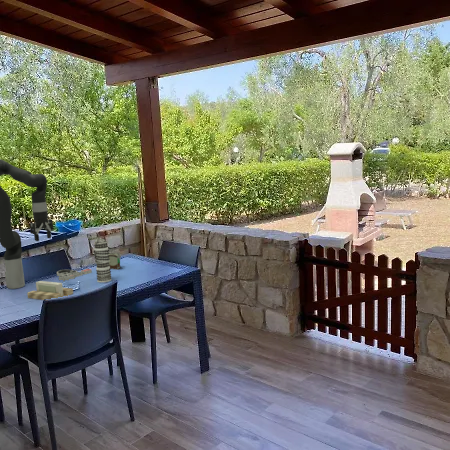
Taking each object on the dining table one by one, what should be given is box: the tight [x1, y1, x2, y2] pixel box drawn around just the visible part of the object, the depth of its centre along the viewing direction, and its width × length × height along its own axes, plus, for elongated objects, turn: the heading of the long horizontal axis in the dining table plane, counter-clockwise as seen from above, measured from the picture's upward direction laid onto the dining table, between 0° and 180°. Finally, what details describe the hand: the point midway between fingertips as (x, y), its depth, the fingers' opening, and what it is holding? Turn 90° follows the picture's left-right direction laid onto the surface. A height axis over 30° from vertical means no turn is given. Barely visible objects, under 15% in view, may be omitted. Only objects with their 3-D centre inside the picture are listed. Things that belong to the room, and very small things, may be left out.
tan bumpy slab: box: [27, 287, 74, 301], centre depth 248 cm, size 20×13×3 cm, turn 66°
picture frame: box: [35, 280, 64, 296], centre depth 247 cm, size 16×4×7 cm, turn 66°
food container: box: [108, 252, 122, 271], centre depth 302 cm, size 12×6×10 cm, turn 58°
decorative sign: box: [56, 268, 92, 282], centre depth 290 cm, size 22×2×20 cm
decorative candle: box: [93, 238, 112, 283], centre depth 271 cm, size 9×9×25 cm
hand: (43, 239), depth 251 cm, fingers open, 8 cm apart
